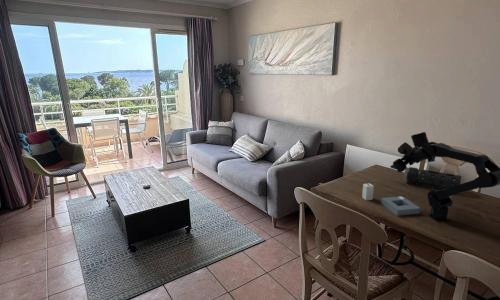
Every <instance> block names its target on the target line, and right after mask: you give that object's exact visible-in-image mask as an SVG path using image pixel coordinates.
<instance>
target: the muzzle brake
mask: <svg viewBox="0 0 500 300" xmlns="http://www.w3.org/2000/svg"><path fill="white" fill-rule="evenodd" d="M403 181H406V182H408V183H410V184H411V183H412V184H415V185H417V186H427V187H432V189H435V188H437V187H441V186H445V185H446V187H447V188H450V187H453V186H456V185H460V184H462V175H459V174H453V173H447V172H440V171H434V170H428V169H422V168H421V169H419V168H417V167H413V166H409V167H407V168H406V169H405V170H404V171H403Z"/></svg>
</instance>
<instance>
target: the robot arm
mask: <svg viewBox="0 0 500 300" xmlns="http://www.w3.org/2000/svg"><path fill="white" fill-rule="evenodd" d="M410 137H411V141H412V144H413V146H414V147H412V146H411V145H410V144H409V143H407V142H403V143H402V144H401V145H400V146H399V147H397V152H398V153H399V154H400V155H402V157H401V158H397V159H396V160H394V161H393V162H392V165H390V169H393V170H396V171H397V172H398V173H402V172H403V173H404V172H405V169H406V168H408V167H407V165H408V164H409V166H412V165H414V164H419V163H420V162H423V161H425V160H427V162H428V163H431V162H432V163H433V162H435V161H436V158H449V159H453V160H457V161H460V162H464V163H469V164H472V165H473V166H474V169H475V171H476V174H477V177H475V178H474V179H472V180H470V181H466V182H463V183H460V185H456V186H453V187H450V188H447V187H446V185H445V186H441V187H437V188H435V187H434V188H431V189H429V191H428V192H427V198H428V204H429V205H428V206H430V207H431V209H430V213H427V215H428V216H429V217H430V218H432V219H433V220H435V221H436V222H442V221H443V222H444V221H450V218H449V217H448V212H449V207H452V206H453V204H454V202H453V200H452V197H453V196H456V195H459V194H463V193H466V192H470V191H473V190H476V189H486V188H493V187H496V186H500V166H499V165H497V164H496V163H494V162H493V161H492V160H491V159H490V158H489V156H488V155H486V154H480V153H475V152H470V151H466V150H460V149H457V148H453V147H451V146H450V145H448V144H446V143H443V142H439V143H438V142H435V141H429V139H428V137H427V133H426V131H424V132H420V133H415V134H412V135H411V136H410ZM487 170H488V171H487Z"/></svg>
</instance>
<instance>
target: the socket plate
mask: <svg viewBox="0 0 500 300" xmlns="http://www.w3.org/2000/svg"><path fill="white" fill-rule="evenodd" d="M380 199H381V201H380V203H381V205H382V206H384V207H385V208H386V209H388V210H389V211H390V212H392V213H393V214H394V215H395V216H398V217H399V216H407V215H409V216H410V215H419V214H420V213H421V207H419V206H418V205H416V204H415V203H413V201H412V202H411V200H409V199H408V198H406V197H405V196H402V195H400V196H390V197H381V198H380Z"/></svg>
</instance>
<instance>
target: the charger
mask: <svg viewBox="0 0 500 300" xmlns="http://www.w3.org/2000/svg"><path fill="white" fill-rule="evenodd" d="M374 189H375V185H373V184H371V183H363V184H362V193H361V194H362V195H361V197H362V198H363V199H364V200H365V201H371V200H373V199H374Z"/></svg>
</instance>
